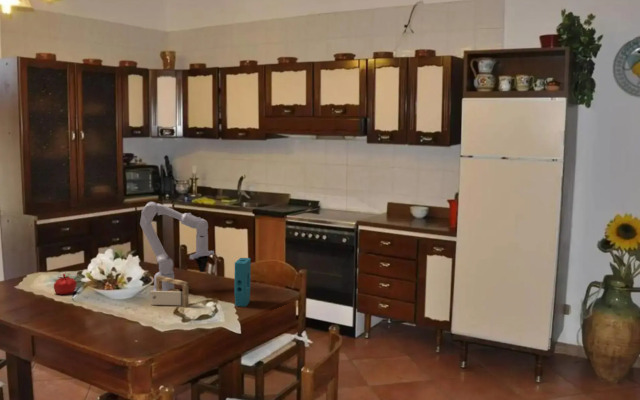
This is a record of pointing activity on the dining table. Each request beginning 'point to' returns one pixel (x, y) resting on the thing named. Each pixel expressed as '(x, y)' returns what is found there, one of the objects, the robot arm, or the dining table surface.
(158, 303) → the door
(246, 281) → the block
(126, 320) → the dining table surface
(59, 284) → the pomegranate
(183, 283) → the door frame
